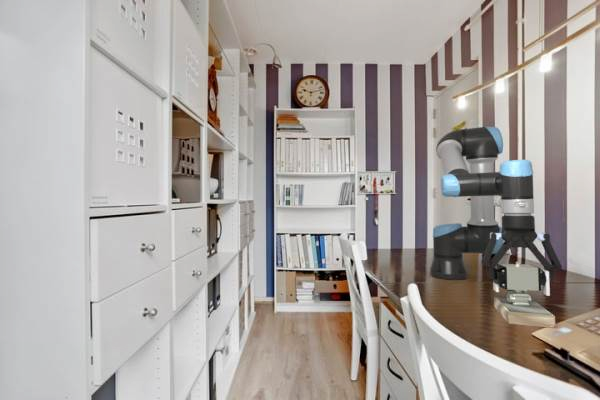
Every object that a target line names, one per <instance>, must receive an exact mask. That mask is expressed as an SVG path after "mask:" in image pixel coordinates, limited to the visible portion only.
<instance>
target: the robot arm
mask: <svg viewBox="0 0 600 400" xmlns="http://www.w3.org/2000/svg"><path fill="white" fill-rule="evenodd" d="M435 148H436V149H435V150H436V151H435V152H436V155H437V157H438V159H440V160H441V164H442V168H443V172H444V175H442V176H441V177H440V178H441V179H440V181H441V182H440V184H441V185H440V187H441V195H442V196H443V197H447V198H448V197H452V198H457V197H458V198H459V197H463V198H464V197H470V219H469V220H467V222H466V226H463V225H462V223H461V222H460V223H459V222H458V223H456V222H455V223H447V224H440V225H439V224H438V225H436V226H434V228H433V230H432V240H433V243H432V245H433V260H432V263H431V266H430V269H429V275H430V276H431V275H432V276H431V277H433V276H434V278H438V279H444V280H466V279H468V277H469V274H468V270H467V267H466V265H465V262H464V258H463V257H464V256H463V254H483V256H482V258H481V262H480V264H482V265H483V266H485V267H488V277H489V279H491V280H492V281H493V279H494V268H496V267H497V264H500V261H501V260H502V259H503V258H504V256H505V255H506V254H507V253H508V251H509V250H510V249H511V248H512V249H513V248H514V249H517V248H521V249H528V250H529V251H530V252H531V253H532V255H533V256H534V257H535V259H537V260H538V262H539V263H540V264H541V265H542V266H543V268H544V269H541V270H543V271H544V273H545V275H546V284H545V285H544V286H542V287H541V292H542V294H544V295H546V297H547V296H548V297H550V296H551V293H550V291H551V288H550V284H551V283H552V284H553V283H554V272H555V271H557V270H561V269H562V268H563V266H562V264H561V262H560V260H559V258H558V256H557V253H556V251H555V249H554V247H553V245H552V243H551V238H550V237H551V235H550V233H546V232H542V233H537V232H536V225H535V223H536V221H535V216H534V215H532V214H534V213H535V203H534V200H535V199H534V175H533V174H534V169H533V163H532V161H530V160H529V159H513V160H506V161H502V162H501V163H500V164H499V171H495V172H494V170H495V169H494V168H495V167H494V163H495V161H496V160H498V159H499V155H501V154H502V153H503V150H504V139H503V135H502V132H501V130H500V129H499V128H498V127H496V126H482V127H481V126H480V127H472V128H464V129H455V130H452V131H450V132H447V133H446V134H445V135H444V136H442V137H441V138H440V139H439V141H438V142H437V144H436V147H435ZM464 157H465V159H464ZM466 162H467V163H469V169H468V166H467V163H466ZM494 196H495V197H496V196H498V197H500V201H501V202H500V204H501V205H500V207H501V210H500V211H501V214H503V215H502V216H501V226H500V225H499V222H498V221H497V220H495V197H494ZM536 239H538V241H539V242H540V243H541V245H542V247H543V249H544V251H545V253H546V255H547V258H548V259H549V261H548V260H547V259H546V257H545V256H544V255H543V254H542V252H541V251H540V250H539V249H538V247H537V246H536V245H535V243H534V242H535V241H536ZM493 254H494V255H493ZM492 255H493V257H492ZM491 257H492V258H491ZM492 284H493V285H492V286H493V291H494V292H496V293H500V286H499V284H495V283H494V281H493V282H492Z"/></svg>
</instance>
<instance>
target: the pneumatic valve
mask: <svg viewBox="0 0 600 400" xmlns="http://www.w3.org/2000/svg"><path fill="white" fill-rule="evenodd" d="M543 270H544V269H542V270H541V267H539V266H536V265H533V264H526V263H525V264H523V263H522V264H521V262H520V261H515V263H506V264H505V263H498V264H497V265H496V268H494V279H492V281H494V283H495V284H499V288H502V289H503V290H506V291H507V290H509V291H507V292H508V293H507V294H506V296H505V297H507V301H508V302H510V303H512V304H513V305H515V306H529V303H531V299H532V297H531V295H530V294H528V293H527V292H528V291H533V292H534V291H537V292H538V291H540V292H542V286H544V285H545V284H546V275H545V273H544V271H543Z"/></svg>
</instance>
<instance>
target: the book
mask: <svg viewBox="0 0 600 400" xmlns="http://www.w3.org/2000/svg"><path fill="white" fill-rule="evenodd" d="M493 306H494V308H495V309H496V310H497V312H498V313H499V314H500V315H501V316H502V318H503V320H505V321H506V322H507V324H508V325H509V324H510V325H520V326H530V327H537V328H538V327H540V328H548V327H549V326H553V325H555V326H556V316H555V315H554V314H553V313H551V312H550V311H548V310H547V309H546V308H545V307H543V306H542V305H540V304H539V303H538V302H537V301H535V300H534V299H532V298H531V303H529V306H515V305H513V304H512V303H510V302H508V301H507V297H506V296H494V297H493Z"/></svg>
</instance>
